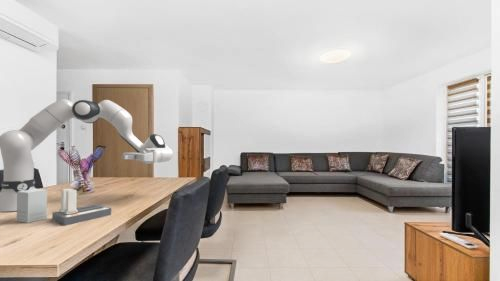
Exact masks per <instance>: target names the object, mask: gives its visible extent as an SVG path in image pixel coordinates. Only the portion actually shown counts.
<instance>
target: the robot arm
mask: <svg viewBox="0 0 500 281" xmlns="http://www.w3.org/2000/svg"><path fill="white" fill-rule="evenodd" d="M73 118H74V119H77V120H79V121H82V123H86V124H94V123H96V122H97V121H98V120H99V119H101V118H102V119H104V120H105V121H107V122H108V123H110V124H111V125H112V126H113V127H114V128H115V129H116V130H117V133H118V135H119V136H120V137H121V138H122V140H124V141H125V142H126V143H127V144H128V145H129V146H130V147H132V149H134V150H135V151H134V152H133V151H132V152H123V153H122V156H121V159H122V160H131V161H138V162H139V161H140V162H142V163H143V164H145V165H147V164H155V163H166V162H169V161H171V160H172V159H173V154H174V152H173V149H172V148H171V147H169V146H168V145H167V144H166V142H165V141H164V138H163V137H162V135H159V134H157V133H156V134H155V133H153V134H151V135H149V136H148V138H146V140H145V141H144V143H143V142H142V141H141V140H140V139H138V137H136V136H135V135H134V133H133V127H132V126H133V117H132V114H131V113H130V112H129V111H127V110H126V109H125V108H123V107H122V106H120V105H119V104H118V103H115V101H112V100H109V99H104V100H101V101H100V102H99V103H98V102H96V101H90V100H86V99H82V100H81V99H79V100H76V102H72V101H71V100H69V99H67V98H61V99H59V100H56V101H54V102H53V103H50V104H49V105H48V106H46V107H44V108H43V109H42V110H40V111H39V112H37V113H36V114H34V115H33V116H32V117H31V118H29V120H28V121H27V122H26V123H25V124H24V125H23V126H22V127H21V128H20V129H17V130H14V129H13V130H9V131H6V132H4V133H2V134H1V135H0V153H1V158H2V163H3V164H2V165H3V180H2V181H1V190H0V212H3V213H4V212H5V213H6V212H17V192H19V191H25V190H31V189H38V188H36V187H35V184H36V179H35V178H34V176H35V163H34V159H33V154H32V151H33V150H34V149H36V148H37V147H39V145H40V144H41V143H43V142H44V140H46V139H47V138H48V137H49V136H50V135H51V134H52V133H53V132H55V131H56V130H58V129H59V128H60V127H62V126H63V125H64V124H65V123H67V122H68V121H69V120H71V119H73Z"/></svg>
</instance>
